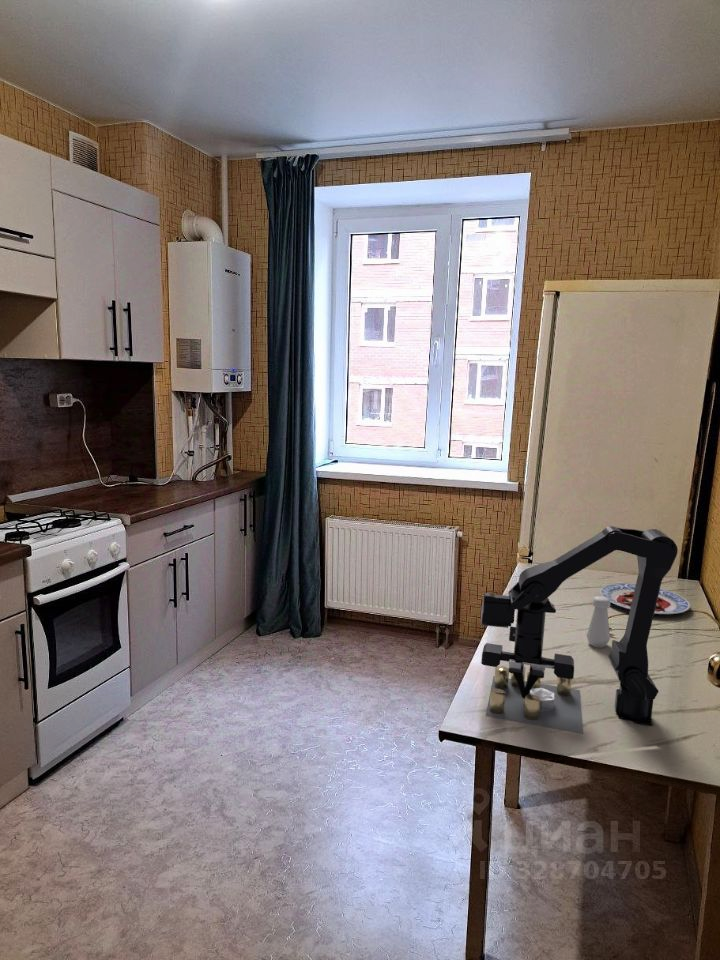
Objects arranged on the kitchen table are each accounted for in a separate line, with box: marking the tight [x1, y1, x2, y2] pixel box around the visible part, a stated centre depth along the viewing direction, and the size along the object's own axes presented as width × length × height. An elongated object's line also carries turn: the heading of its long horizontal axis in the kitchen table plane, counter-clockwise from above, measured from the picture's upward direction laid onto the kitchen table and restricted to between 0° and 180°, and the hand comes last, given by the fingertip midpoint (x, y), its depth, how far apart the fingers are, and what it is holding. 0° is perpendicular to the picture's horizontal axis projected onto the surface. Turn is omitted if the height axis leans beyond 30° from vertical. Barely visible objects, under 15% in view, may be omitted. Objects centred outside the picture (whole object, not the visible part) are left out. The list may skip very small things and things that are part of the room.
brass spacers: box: [489, 665, 573, 720], centre depth 134 cm, size 16×16×4 cm
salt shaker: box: [586, 595, 611, 649], centre depth 164 cm, size 6×6×13 cm
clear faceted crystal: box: [530, 688, 554, 712], centre depth 133 cm, size 6×5×2 cm
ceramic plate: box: [599, 583, 691, 615], centre depth 196 cm, size 26×26×3 cm
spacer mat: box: [485, 675, 584, 735], centre depth 134 cm, size 19×18×1 cm
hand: (524, 697), depth 134 cm, fingers closed
